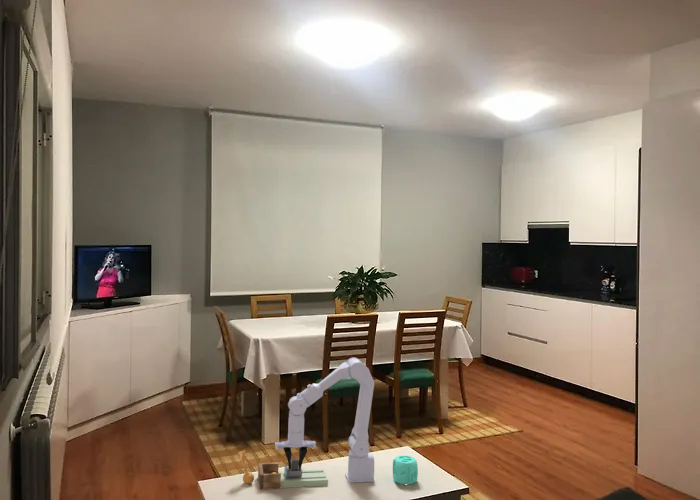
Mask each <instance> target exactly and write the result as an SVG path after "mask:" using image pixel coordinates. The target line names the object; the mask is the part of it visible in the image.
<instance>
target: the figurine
mask: <svg viewBox="0 0 700 500" xmlns="http://www.w3.org/2000/svg"><path fill="white" fill-rule="evenodd" d="M245 454H246V450H245V449H244V450H242V451H238V453H237V457H238V458H239V460H240V463H241V464H242V467H243V471H244V472H245V473H244V474H243V476H242V481H243V483H244V484H246V485H251V484H252V483H253V482H254V480H255V476H254V473H252V472H250V471H249V470H248V468H249V463H248V461H246V460H248V459H247V457H246V455H245Z"/></svg>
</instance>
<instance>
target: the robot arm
mask: <svg viewBox="0 0 700 500" xmlns="http://www.w3.org/2000/svg"><path fill="white" fill-rule="evenodd" d="M350 376H351V377H350ZM351 378H352V379H354V380H355V381H357V382H358V384H359V393H358V399H357V406H356V412H355V413H356V414H355V419H354V426H353V428H352V429H351V434H350V436H349V437H348V440H347V444H348V446H349V447H350V449H349V451H348V463H347V465H348V466H347V472H345V474H344V475H345V477H346V479H347V481H348V483H351V484H352V483H367V482H368V483H370V482H371V483H372V482H375V456H374V454H373V453H369V452H370V447H371V446H370V444H369V438H370V437H369V431H368V429H369V423H370V416H371V409H372V401H373V395H374V389H375V381H374V379H373V376H372V374H371V371H370V368H369V367H367V366H366V364H365V363H364V362H362V361H361V360H360V359H359V358H358V357H350V358H348V359H347V360H346V361H344V362H342V363H341V364H340V365H339V366H338V367H337V368H335V369H334V370H333V371H332V372H330V373H329V374H328V375H327V376H326V377H324V379H322V380H321V381H319V382H318V383H312V384H310V383H308V385H306V386H307V388H305V389H303V390H302V391H301V392H298V393H297V394H296V396H295V395H294V396H292V397H290V398H289V401H288V403H287V407H288V409H289V411H288V427H287V431H288V432H287V440H284V441H278V442H275V443H274V444H275V445H274V447H275V450H279V449H283V452H284V454H285V457H286V459H287V464H288V465H287V467H289V469H291V458H292V454H293V453H292V449H298V450H299V451H298V452H299V454H298V456H299V457H298V460H299V465H298V467H299V469H302V466H303V463H304V458H305V457H306V455H307V453H308V449H309V448H312V449H316V447H317V442H316V441H315V440H305V438H304V437H305V413H306V411H307V408H309V407H310V406H311V405H313V404H314V403H315V402H317V401H318V400H319V399H321V398H323V396H324V391H326V390H327V389H329V388H330V387H332V386H334V385H335V384H336V383H338V382H339V381H341V380H351Z"/></svg>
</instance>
